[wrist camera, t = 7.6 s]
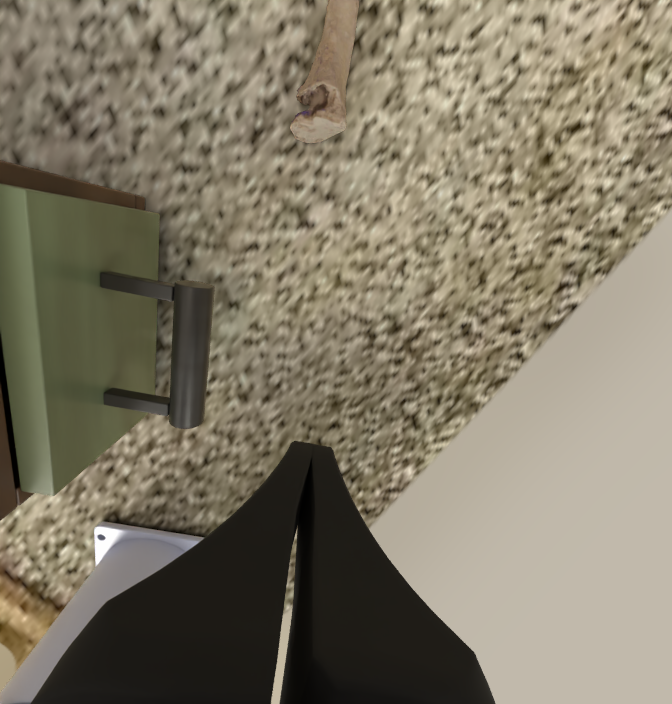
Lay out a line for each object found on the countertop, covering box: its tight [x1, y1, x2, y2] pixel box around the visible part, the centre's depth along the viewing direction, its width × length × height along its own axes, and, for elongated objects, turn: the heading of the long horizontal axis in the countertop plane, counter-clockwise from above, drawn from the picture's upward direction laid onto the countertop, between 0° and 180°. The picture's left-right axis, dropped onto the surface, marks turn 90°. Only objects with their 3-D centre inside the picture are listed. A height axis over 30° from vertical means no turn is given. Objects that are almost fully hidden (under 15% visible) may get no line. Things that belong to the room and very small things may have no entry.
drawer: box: [0, 183, 215, 496], centre depth 13 cm, size 17×10×7 cm, turn 79°
